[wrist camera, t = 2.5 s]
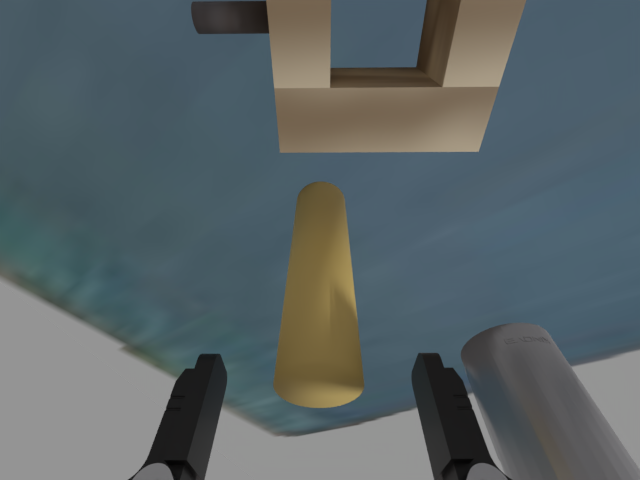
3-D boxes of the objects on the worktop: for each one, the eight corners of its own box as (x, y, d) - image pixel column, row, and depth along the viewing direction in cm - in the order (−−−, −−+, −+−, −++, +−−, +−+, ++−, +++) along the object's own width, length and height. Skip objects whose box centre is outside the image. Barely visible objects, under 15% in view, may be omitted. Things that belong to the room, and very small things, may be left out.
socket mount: (447, 120, 20) (478, 151, 16) (233, 121, 20) (211, 153, 16) (511, -152, 13) (593, -217, 9) (186, -147, 13) (127, -209, 9)
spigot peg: (343, 223, 25) (360, 408, 14) (297, 223, 25) (277, 407, 14) (345, 181, 22) (368, 362, 11) (295, 181, 22) (268, 361, 11)
